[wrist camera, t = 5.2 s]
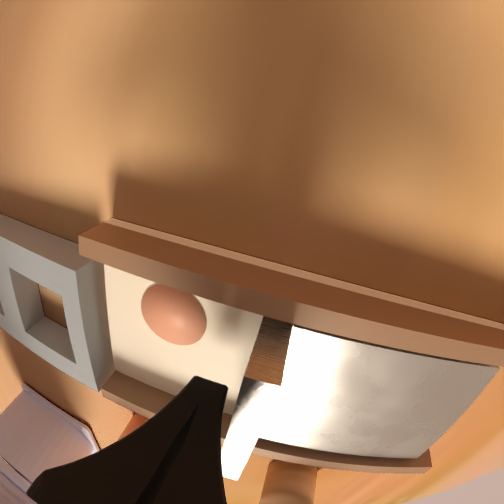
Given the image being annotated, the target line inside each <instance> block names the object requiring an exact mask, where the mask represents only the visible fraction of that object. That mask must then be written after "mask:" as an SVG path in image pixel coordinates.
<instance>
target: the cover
mask: <svg viewBox="0 0 504 504" xmlns="http://www.w3.org/2000/svg"><path fill="white" fill-rule="evenodd" d="M499 369H500V368H499V366H495V365H488V364H481V363H475V362H468V361H462V360H456V359H450V358H444V357H439V356H433V355H428V354H423V353H417V352H412V351H407V350H402V349H397V348H393V347H388V346H383V345H379V344H374V343H369V342H365V341H361V340H356V339H352V338H348V337H343V336H339V335H335V334H331V333H327V332H323V331H319V330H315V329H311V328H307V327H303V326H299V325H295V324H292V323H288V322H284V321H281V320H277V319H273V318H270V317H266V316H263V319H262V322H261V326H260V329H259V332H258V335H257V338H256V341H255V344H254V347H253V350H252V353H251V356H250V359H249V362H248V365H247V368H246V371H245V373H244V376H243V380H242V384H241V387H240V391H239V394H238V398H237V401H236V405H235V408H234V412H233V415H232V419H231V422H230V425H229V429H228V432H227V436H226V439H225V442H224V446H223V449H222V453H221V462H222V474H223V477H226V478H229V479H233V480H238V478H239V476H240V474H241V472H242V470H243V468H244V466H245V464H246V462H247V460H248V458H249V456H250V454H251V452H252V450H253V448H254V446H255V444H256V442H257V439H258V438H262V439H266V440H271V441H275V442H279V443H284V444H289V445H294V446H299V447H304V448H309V449H315V450H321V451H328V452H335V453H342V454H351V455H360V456H371V457H385V458H411V459H417V458H418V457H419V456H421V455H422V454H423V453H424V452H425V451H426V450H427V449H428V448H430V447H431V446H432V445H433V444H434V443H435V442H436V441H437V440H438V439H439V438H440V437H441V436H442V435H443V434H444V433H445V432H446V431H447V430H448V429H449V428H450V427H451V426H452V425H453V424H454V423H455V422H456V421H457V420H458V419H459V418H460V417H461V415H462V414H463V413H464V412H465V411H466V410H467V409H468V408H469V407H470V405H471V404H472V403H473V402H474V401H475V400H476V398H477V397H478V396H479V395H480V394H481V392H482V391H483V390H484V389H485V387H486V386H487V385H488V384H489V382H490V381H491V380H492V378H493V377H494V376H495V374H496V373H497V372H498V370H499Z"/></svg>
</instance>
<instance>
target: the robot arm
mask: <svg viewBox="0 0 504 504" xmlns="http://www.w3.org/2000/svg"><path fill="white" fill-rule="evenodd" d="M21 386H22V388H23V391H22V392H21V393H20V394H19V395H18V396H17V397H16V398H15V399H14V400H13V402H12V403H11V404H10V405H9V406H8V407H7V408H6V409H5V410H4V411H3V413H2V414H1V415H0V456H1V457H2V458H3V459H4V460H5V461H6V462H7V463H8V464H9V465H10V466H9V465H8V464H7V463H6V462H5V461H4V460H3V459H2V458H1V457H0V504H227V502H226V497H225V490H224V483H223V474H222V462H221V424H222V414H223V409H224V405H225V401H226V397H227V393H228V387H227V386H226V385H223V384H220V383H217V382H214V381H211V380H208V379H205V378H202V377H199V376H193V378H192V379H191V380H190V381H189V383H188V384H187V385H186V386H185V387H184V388H183V389H182V390H181V391H180V392H179V393H178V394H177V395H176V396H175V397H174V398H173V399H172V400H171V401H170V402H169V403H168V404H167V405H166V406H165V407H164V408H162V409H161V410H160V411H159V412H158V413H157V414H156V415H154V416H153V417H152V418H150V419H149V420H148V421H147V422H145V423H144V424H143V425H141V426H140V427H139V428H137V429H136V430H134V431H133V432H131V433H130V434H128V435H127V436H125V437H124V438H122V439H120V440H119V441H117V442H115V443H113V444H111V445H110V446H108V447H106V448H104V449H102V450H100V449H99V447H98V445H97V443H96V441H95V439H94V437H93V435H92V432H91V430H90V428H89V427H87V426H86V425H85V424H83V423H81V422H80V421H78V420H76V419H75V418H73V417H71V416H70V415H68V414H67V413H65V412H64V411H62V410H61V409H59V408H58V407H56V406H55V405H53V404H52V403H50V402H49V401H48V400H46V399H45V398H43V397H42V396H41V395H39V394H38V393H36V392H35V391H34V390H32V389H31V388H30V387H29V386H27V385H26V384H25V383H23V384H22V385H21Z"/></svg>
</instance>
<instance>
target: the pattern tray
mask: <svg viewBox="0 0 504 504" xmlns="http://www.w3.org/2000/svg"><path fill="white" fill-rule="evenodd" d="M78 243H79V255H81V256H84V257H87V258H89V259H92V260H95V261H97V262H100V263H103V264H104V271H105V288H106V301H107V312H108V321H109V330H110V338H111V346H112V352H113V359H114V365H115V371H114V372H113V373H112V375H111V376H110V377H109V378H108V380H107V381H106V382H105V383H104V385H103V386H102V387H101V390H102V394H103V397H105V398H107V399H109V400H111V401H113V402H115V403H117V404H119V405H121V406H123V407H125V408H127V409H129V410H131V411H134V412H136V413H138V414H140V415H142V416H145V417H147V418H149V419H150V418H152V417H153V416H154V415H156V414H157V413H158V412H159V411H160V410H161V409H162V408H164V407H165V406H166V405H167V404H168V403H169V402H170V401H171V400H172V399H173V398H174V397H175V396H176V395H177V394H178V393H179V392H180V391H181V390H182V389H183V388H184V387H185V386H186V385H187V384H188V383H189V381H190V380H191V379H192V378H193V376H199V377H202V378H205V379H208V380H211V381H214V382H217V383H220V384H223V385H226V386H227V387H228V393H227V397H226V401H225V405H224V409H223V414H222V424H221V445H222V446H224V442H225V439H226V436H227V432H228V429H229V425H230V422H231V419H232V415H233V412H234V408H235V405H236V401H237V398H238V394H239V391H240V387H241V384H242V380H243V376H244V373H245V371H246V368H247V365H248V362H249V359H250V356H251V353H252V350H253V347H254V344H255V341H256V338H257V335H258V332H259V329H260V326H261V322H262V319H263V316H266V317H270V318H273V319H277V320H281V321H284V322H288V323H292V324H295V325H299V326H303V327H307V328H311V329H315V330H319V331H323V332H327V333H331V334H335V335H339V336H343V337H348V338H352V339H356V340H361V341H365V342H369V343H374V344H379V345H383V346H388V347H393V348H397V349H402V350H407V351H412V352H417V353H423V354H428V355H433V356H439V357H444V358H450V359H456V360H462V361H468V362H475V363H481V364H488V365H495V366H502V367H504V324H503V323H499V322H495V321H491V320H487V319H484V318H480V317H476V316H472V315H468V314H465V313H461V312H457V311H453V310H449V309H446V308H442V307H438V306H434V305H430V304H427V303H423V302H419V301H415V300H412V299H408V298H404V297H400V296H397V295H393V294H389V293H385V292H382V291H378V290H374V289H370V288H367V287H363V286H359V285H356V284H352V283H348V282H344V281H341V280H337V279H333V278H330V277H326V276H322V275H318V274H315V273H311V272H307V271H304V270H300V269H296V268H293V267H289V266H285V265H282V264H278V263H274V262H270V261H267V260H263V259H259V258H256V257H252V256H248V255H245V254H241V253H237V252H234V251H230V250H227V249H223V248H219V247H216V246H212V245H208V244H205V243H201V242H197V241H194V240H190V239H186V238H183V237H179V236H176V235H172V234H168V233H165V232H161V231H157V230H154V229H150V228H147V227H143V226H139V225H136V224H132V223H129V222H125V221H121V220H118V219H114V218H111V219H109V220H107V221H105V222H103V223H101V224H99V225H97V226H95V227H93V228H91V229H89V230H87V231H85V232H83V233H81V234H79V235H78ZM251 454H255V455H259V456H263V457H267V458H272V459H276V460H281V461H286V462H291V463H297V464H302V465H308V466H315V467H321V468H329V469H337V470H346V471H357V472H371V473H425V472H426V471H428V470H429V469H430V468H431V467H432V463H431V457H430V451H429V448H428V449H427V450H426V451H425V452H424V453H423V454H422V455H421V456H419V457H418V458H417V459H411V458H385V457H371V456H360V455H351V454H342V453H335V452H328V451H321V450H315V449H309V448H304V447H299V446H294V445H289V444H284V443H279V442H275V441H271V440H266V439H262V438H258V439H257V442H256V444H255V446H254V448H253V450H252V452H251Z"/></svg>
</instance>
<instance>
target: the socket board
mask: <svg viewBox="0 0 504 504" xmlns="http://www.w3.org/2000/svg"><path fill="white" fill-rule="evenodd" d="M38 284H40V285H41V286H43V287H45V288H47V289H49V290H51V291H53V292H55V293H56V294H58V295H60V296H62V302H63V308H64V313H65V318H66V323H67V327H68V329H67V328H65V327H63V326H61V325H59V324H58V323H56V322H54V321H52V320H51V319H49V318H47V317H46V316H44V311H43V307H42V303H41V298H40V293H39V288H38ZM0 327H1V328H2V329H3V330H4V331H6V332H7V333H8V334H10V335H11V336H12V337H13V338H15V339H16V340H17V341H19V342H20V343H21V344H23V345H24V346H25V347H27V348H28V349H30V350H31V351H32V352H34V353H35V354H37V355H38V356H40V357H41V358H42V359H44V360H45V361H47V362H48V363H50V364H51V365H53V366H55V367H56V368H58V369H59V370H61V371H62V372H64V373H66V374H67V375H69V376H71V377H72V378H74V379H76V380H77V381H79V382H81V383H82V384H84V385H86V386H88V387H89V388H91V389H93V390H95V391H97V392H99V391H100V390H101V387H102V386H103V385H104V383H105V382H106V381H107V380H108V378H109V377H110V376H111V375H112V373H113V372H114V371H115V367H114V361H113V354H112V347H111V340H110V332H109V324H108V315H107V304H106V292H105V277H104V264H103V263H100V262H97V261H95V260H92V259H89V258H87V257H84V256H81V255H79V244H77V243H75V242H72V241H69V240H66V239H64V238H61V237H58V236H56V235H53V234H51V233H48V232H45V231H43V230H40V229H38V228H35V227H32V226H30V225H27V224H25V223H22V222H20V221H17V220H15V219H12V218H10V217H8V216H5V215H3V214H0Z"/></svg>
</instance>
